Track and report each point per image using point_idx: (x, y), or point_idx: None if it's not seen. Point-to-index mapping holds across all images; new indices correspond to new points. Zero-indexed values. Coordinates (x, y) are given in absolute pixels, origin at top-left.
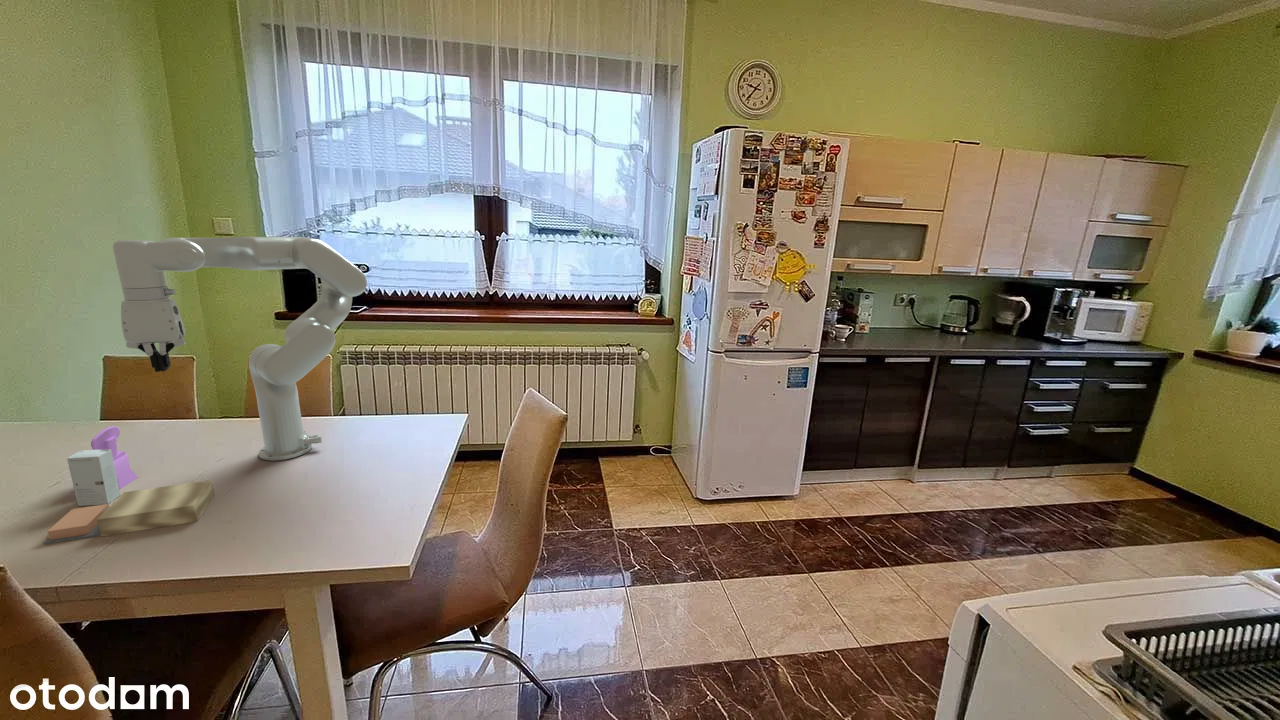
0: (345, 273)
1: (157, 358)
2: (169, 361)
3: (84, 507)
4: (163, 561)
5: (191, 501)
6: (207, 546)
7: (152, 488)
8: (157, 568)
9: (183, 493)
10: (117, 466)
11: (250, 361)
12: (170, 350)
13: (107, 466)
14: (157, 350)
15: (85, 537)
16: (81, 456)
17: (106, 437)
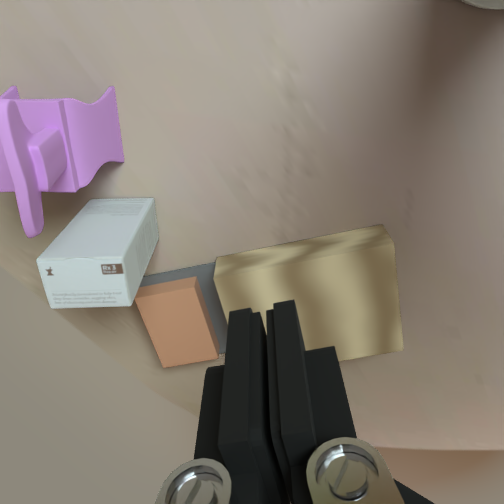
0: None
1: (286, 491)
2: (342, 380)
3: (154, 295)
4: (390, 420)
5: (391, 335)
6: (442, 395)
7: (268, 269)
8: (390, 432)
9: (356, 301)
10: (89, 152)
11: None
12: (405, 490)
13: (137, 260)
14: (234, 495)
15: (220, 352)
16: (82, 303)
17: (34, 188)
